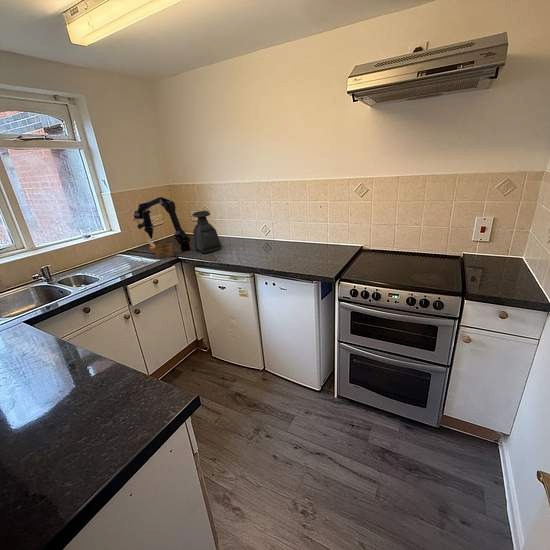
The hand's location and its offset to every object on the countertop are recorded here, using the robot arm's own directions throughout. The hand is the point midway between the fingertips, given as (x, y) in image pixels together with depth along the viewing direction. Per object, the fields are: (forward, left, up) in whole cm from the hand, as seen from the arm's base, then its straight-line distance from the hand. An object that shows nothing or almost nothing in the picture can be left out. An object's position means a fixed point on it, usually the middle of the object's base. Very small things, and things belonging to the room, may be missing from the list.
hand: (151, 237), depth 249 cm
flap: (-1, +25, 0) cm, 25 cm away
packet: (0, 0, -11) cm, 11 cm away
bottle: (-41, +34, -11) cm, 54 cm away
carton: (-9, +25, -11) cm, 29 cm away
